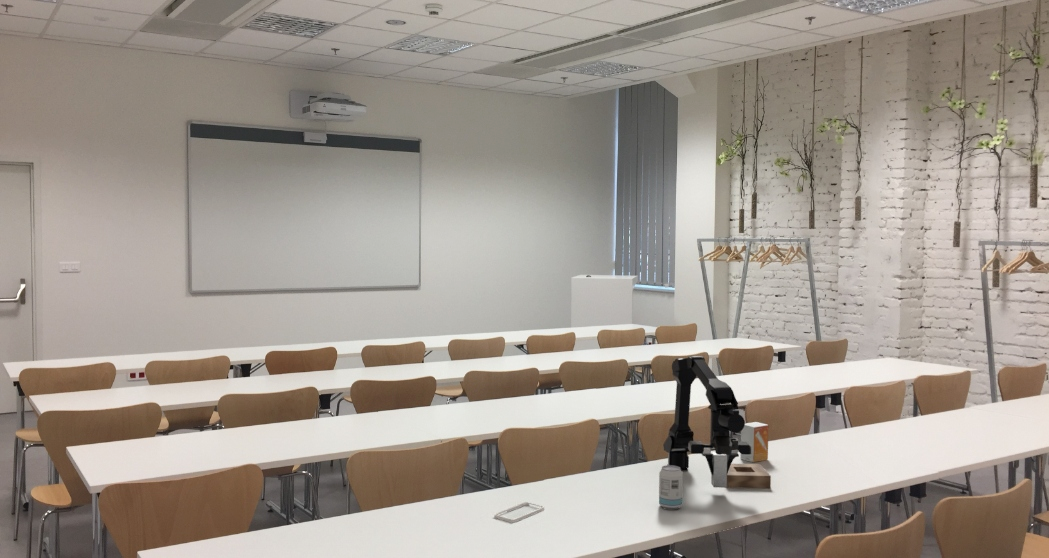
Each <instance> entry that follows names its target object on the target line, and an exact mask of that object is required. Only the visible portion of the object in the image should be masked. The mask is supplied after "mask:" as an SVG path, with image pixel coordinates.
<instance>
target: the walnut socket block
mask: <svg viewBox="0 0 1049 558" xmlns="http://www.w3.org/2000/svg"><path fill="white" fill-rule="evenodd" d="M771 479H772V475H770V473H769V472H768V471H767V470H766V469H765V468H764V466H763V465H761V463H731V465H730V468H729V471H728V473H727V488H743V489H744V488H747V489H749V488H750V489H751V488H754V489H771V483H772V482H771Z"/></svg>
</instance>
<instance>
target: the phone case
mask: <svg viewBox="0 0 1049 558" xmlns="http://www.w3.org/2000/svg"><path fill="white" fill-rule="evenodd" d="M530 505H533V506H535V507H540V508H537V509H535V510H532V511H530V512H527V513H524V514H522V515H519V516H517V517H515V518H513V519H512V518H509V517H506V516H502V515H500V514H502V513H505V512H506V513H509V512H511V511H514V510H516V509H519V508H521V507H524V506H530ZM544 510H545V506H544V505H540V504H536V503H532V502H528V501H525V502H522V503H520V504H517V505H515V506H512V507H510V508H507V509H504V510H501V511H500V512H496V513H494V517H493V518H494V519H498V520H500V521H505V522H508V523H517V522H518V521H521V520H523V519H526V518H528V517H531V516H533V515H535V514H538V513H540V512H543V511H544Z"/></svg>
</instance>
